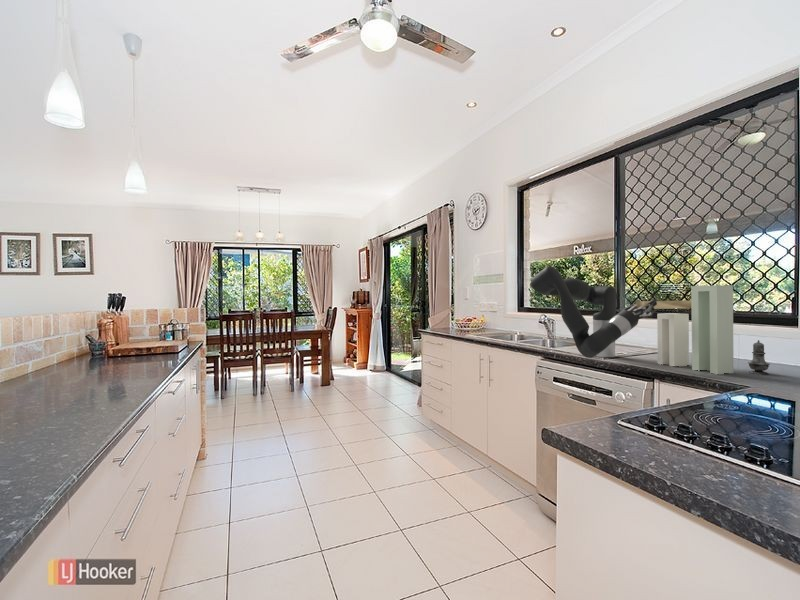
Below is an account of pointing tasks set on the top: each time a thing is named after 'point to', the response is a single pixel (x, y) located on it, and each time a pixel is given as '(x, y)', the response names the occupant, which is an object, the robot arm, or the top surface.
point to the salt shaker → (758, 360)
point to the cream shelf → (673, 339)
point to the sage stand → (712, 328)
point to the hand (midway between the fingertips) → (650, 301)
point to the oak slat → (666, 304)
